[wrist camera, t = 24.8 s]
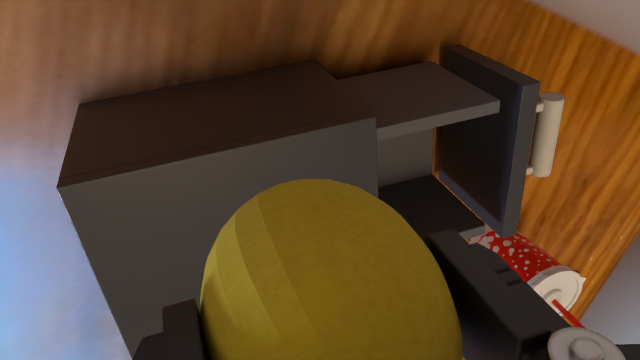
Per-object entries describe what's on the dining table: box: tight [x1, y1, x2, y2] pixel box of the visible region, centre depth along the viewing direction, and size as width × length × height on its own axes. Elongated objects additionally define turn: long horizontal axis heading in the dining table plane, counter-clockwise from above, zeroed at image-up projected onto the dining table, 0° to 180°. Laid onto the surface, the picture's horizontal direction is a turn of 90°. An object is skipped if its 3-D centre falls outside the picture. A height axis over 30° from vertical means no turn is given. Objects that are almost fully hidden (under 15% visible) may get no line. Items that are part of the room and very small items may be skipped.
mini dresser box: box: [337, 44, 565, 240], centre depth 34 cm, size 19×11×9 cm, turn 94°
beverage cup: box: [469, 223, 586, 329], centre depth 43 cm, size 6×6×14 cm
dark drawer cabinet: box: [56, 60, 378, 359], centre depth 31 cm, size 16×13×11 cm
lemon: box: [200, 179, 463, 360], centre depth 11 cm, size 6×6×8 cm
